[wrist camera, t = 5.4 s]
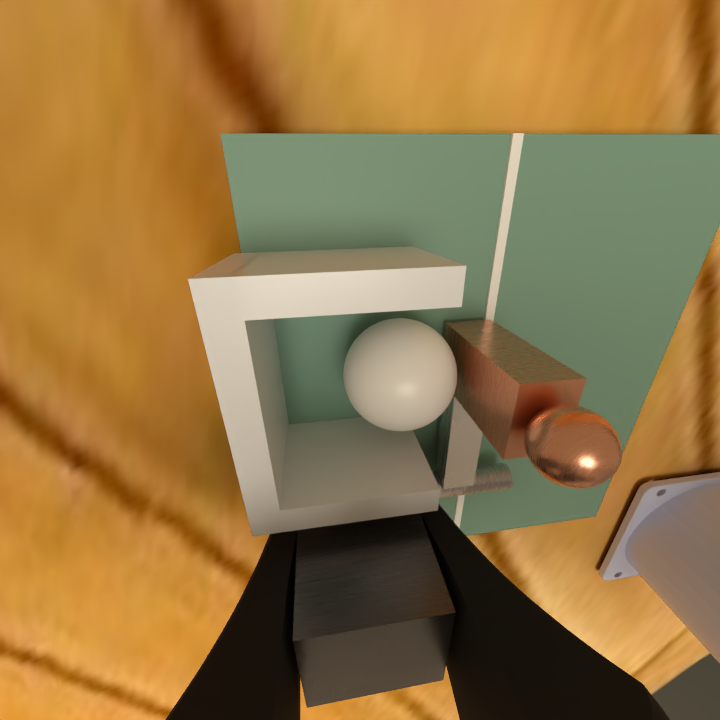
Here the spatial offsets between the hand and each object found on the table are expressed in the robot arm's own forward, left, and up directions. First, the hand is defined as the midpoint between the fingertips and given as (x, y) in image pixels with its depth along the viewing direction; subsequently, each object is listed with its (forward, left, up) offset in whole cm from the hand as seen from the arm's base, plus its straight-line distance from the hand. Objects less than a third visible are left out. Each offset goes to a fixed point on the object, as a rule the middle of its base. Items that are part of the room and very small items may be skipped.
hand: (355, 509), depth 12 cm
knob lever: (-2, -2, -1) cm, 3 cm away
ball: (-1, -5, 0) cm, 6 cm away
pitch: (-5, -3, -2) cm, 6 cm away
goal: (+1, -5, -1) cm, 6 cm away
